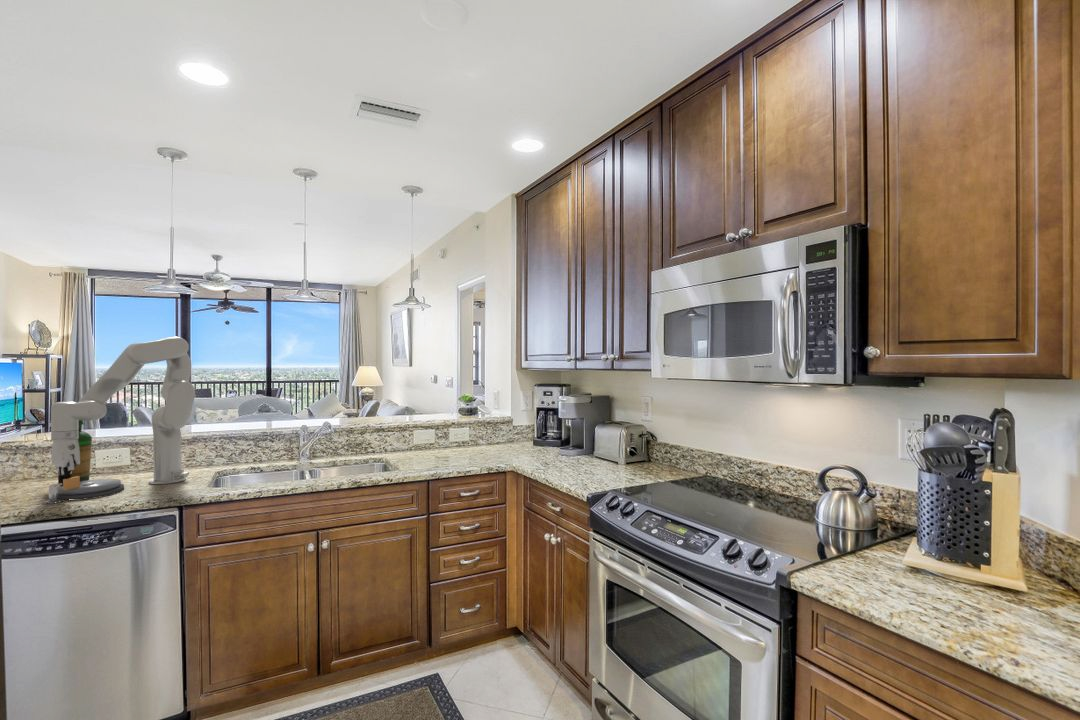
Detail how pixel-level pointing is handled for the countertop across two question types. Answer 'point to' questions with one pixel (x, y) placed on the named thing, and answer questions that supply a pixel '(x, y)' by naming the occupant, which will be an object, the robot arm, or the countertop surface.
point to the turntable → (86, 486)
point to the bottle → (83, 455)
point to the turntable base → (92, 494)
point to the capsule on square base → (53, 494)
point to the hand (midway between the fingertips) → (64, 485)
